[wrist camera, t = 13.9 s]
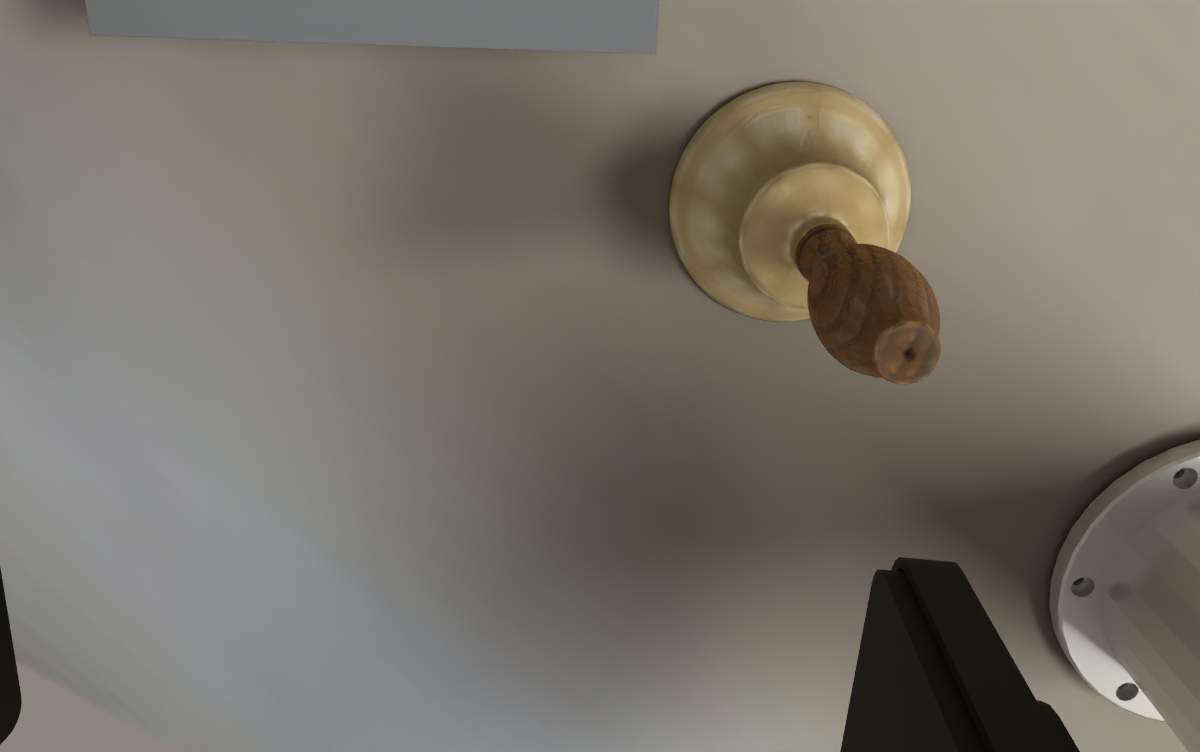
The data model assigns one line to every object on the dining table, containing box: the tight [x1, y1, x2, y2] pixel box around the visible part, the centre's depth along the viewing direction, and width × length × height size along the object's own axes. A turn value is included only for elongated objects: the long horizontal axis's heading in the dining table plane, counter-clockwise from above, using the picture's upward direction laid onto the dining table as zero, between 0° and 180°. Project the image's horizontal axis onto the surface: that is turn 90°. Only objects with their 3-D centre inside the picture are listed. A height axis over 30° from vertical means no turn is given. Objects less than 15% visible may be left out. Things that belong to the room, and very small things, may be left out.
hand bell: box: [669, 81, 941, 385], centre depth 26 cm, size 8×8×16 cm
